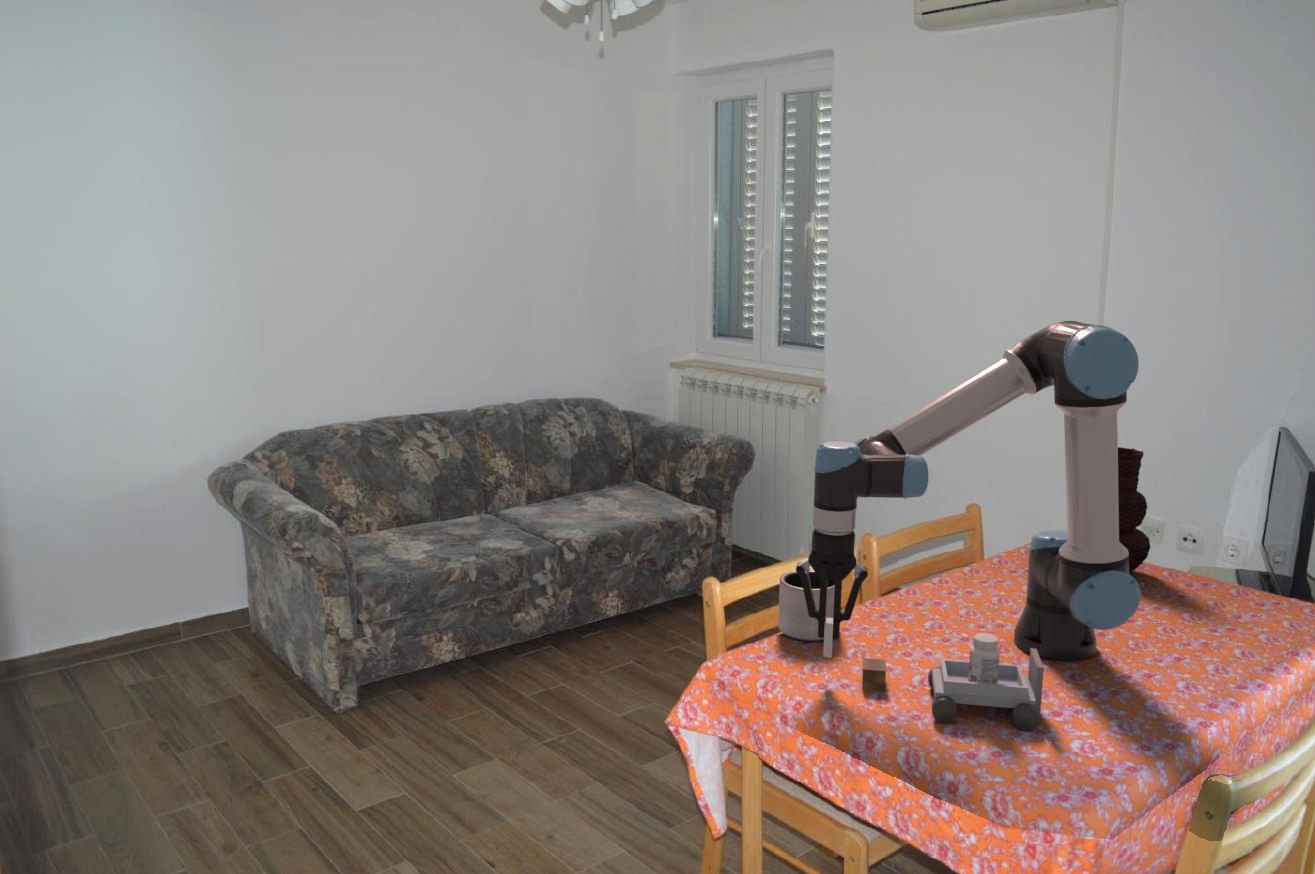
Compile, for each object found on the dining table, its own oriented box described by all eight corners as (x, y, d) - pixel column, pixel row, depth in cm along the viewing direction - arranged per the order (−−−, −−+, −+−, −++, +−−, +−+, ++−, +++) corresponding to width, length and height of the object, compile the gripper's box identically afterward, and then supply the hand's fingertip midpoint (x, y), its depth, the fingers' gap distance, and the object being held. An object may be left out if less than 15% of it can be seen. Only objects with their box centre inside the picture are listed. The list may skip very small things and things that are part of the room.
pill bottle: (963, 678, 176) (966, 632, 174) (990, 677, 176) (993, 631, 175) (974, 690, 171) (977, 643, 170) (1001, 689, 172) (1005, 642, 170)
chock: (884, 680, 186) (885, 659, 185) (885, 691, 181) (885, 670, 181) (862, 678, 187) (863, 657, 186) (862, 689, 182) (862, 669, 181)
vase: (1085, 581, 238) (1096, 456, 232) (1070, 561, 253) (1080, 443, 247) (1155, 585, 235) (1168, 459, 229) (1136, 564, 250) (1147, 445, 244)
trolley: (1029, 695, 180) (1033, 641, 178) (1042, 732, 166) (1046, 675, 164) (927, 686, 183) (930, 634, 181) (931, 722, 170) (934, 666, 168)
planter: (825, 648, 200) (827, 594, 198) (767, 635, 207) (768, 582, 205) (849, 627, 211) (851, 576, 209) (793, 615, 217) (794, 565, 215)
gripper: (871, 526, 182) (864, 649, 187) (798, 521, 185) (793, 643, 190) (871, 538, 175) (863, 666, 180) (795, 532, 178) (789, 659, 182)
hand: (827, 654), depth 185 cm, fingers closed
